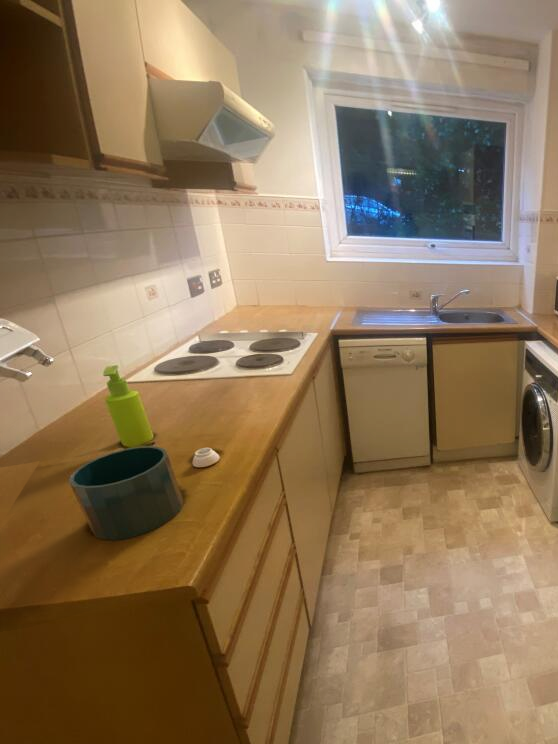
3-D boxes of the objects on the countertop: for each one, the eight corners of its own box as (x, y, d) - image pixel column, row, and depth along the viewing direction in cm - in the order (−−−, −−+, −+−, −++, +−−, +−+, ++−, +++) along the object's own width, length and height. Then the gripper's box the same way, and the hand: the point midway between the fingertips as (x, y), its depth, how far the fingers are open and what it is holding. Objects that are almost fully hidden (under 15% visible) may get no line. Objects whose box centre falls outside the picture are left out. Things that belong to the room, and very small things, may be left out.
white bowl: (218, 454, 101) (192, 461, 98) (214, 443, 99) (188, 450, 96) (221, 463, 97) (194, 471, 94) (218, 452, 96) (190, 459, 93)
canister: (79, 549, 73) (53, 495, 68) (109, 503, 84) (88, 455, 80) (174, 527, 78) (155, 476, 74) (190, 487, 89) (174, 440, 85)
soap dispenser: (121, 455, 100) (89, 374, 92) (125, 442, 105) (96, 365, 97) (153, 448, 103) (125, 369, 95) (156, 436, 108) (129, 360, 100)
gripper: (-78, 332, 75) (22, 376, 82) (-6, 307, 92) (71, 345, 100) (-101, 360, 75) (1, 401, 82) (-25, 330, 92) (54, 366, 100)
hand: (40, 370), depth 91 cm, fingers open, 8 cm apart
